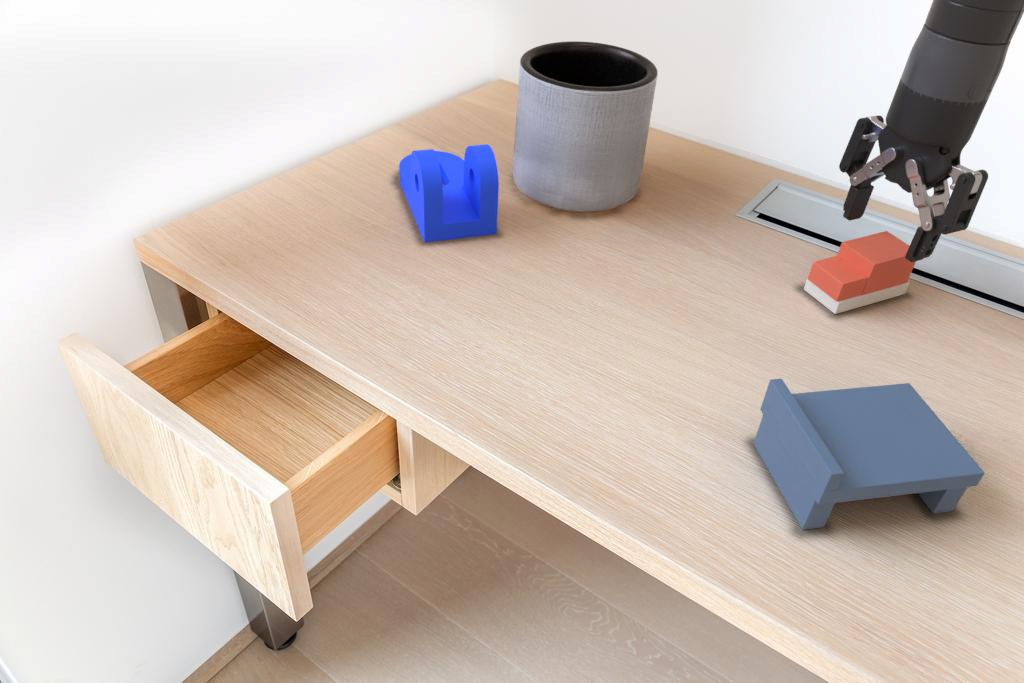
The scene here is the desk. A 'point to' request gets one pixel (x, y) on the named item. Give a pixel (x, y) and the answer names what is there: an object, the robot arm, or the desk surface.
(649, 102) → the planter
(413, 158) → the bracket
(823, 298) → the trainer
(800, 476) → the shoe shelf
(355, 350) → the desk surface
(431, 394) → the desk surface
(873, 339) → the desk surface
